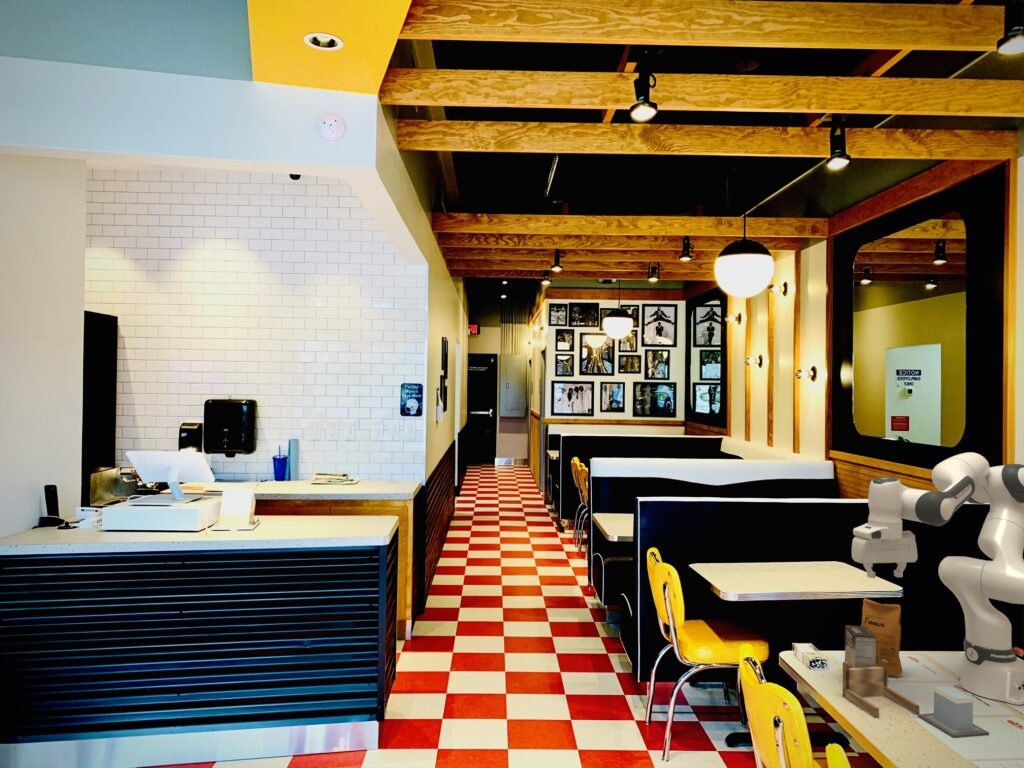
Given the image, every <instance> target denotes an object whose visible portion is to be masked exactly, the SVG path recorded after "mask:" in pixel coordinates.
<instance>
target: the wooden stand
mask: <svg viewBox="0 0 1024 768" xmlns="http://www.w3.org/2000/svg"><path fill="white" fill-rule="evenodd" d="M882 696H883V697H885V698H886V699H888V700H890V701H892V702H894V703H896V704H897V705H898V706H900V707H902V708H904V709H905V710H907V711H909V712H910V713H912V714H913V715H915V716H916V715H917V716H918V714H920V705H919V704H918V703H916V702H915V701H914V700H913V701H912V700H911V699H909V698H907V697H906V696H904V695H902V694H901V693H899V692H897V691H895V690H894V689H892V688H890V687H889V686H888V676H887V661H886V660H884V659H883V660H881V666H880V667H863V668H849V663H848V662H845V661H843V662H842V697H843V698H845V699H846V700H848V701H849V702H851V703H853V704H854V705H855V706H857V707H858V708H860V709H861V710H863V711H864V712H865V713H867V714H869V715H870V716H872V717H873V718H875V719H877V718H880V707H878V706H876V705H875V704H873V703H872V702H870V701H868V700H867V699H866V698H870V697H882Z"/></svg>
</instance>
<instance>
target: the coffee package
mask: <svg viewBox="0 0 1024 768" xmlns="http://www.w3.org/2000/svg"><path fill="white" fill-rule="evenodd" d="M901 612H902V609H901V604H894V603H893V604H889V603H880V602H879V603H878V602H876V601H873V600H871V599H868V598H863V603H862V613H861V614H862V615H861V624H860V626H862V627H867V628H868V629H869V630H870V631H871V632H872V633H873V635H874V636H875V637H876V667H880V666H881V660H883V659H884V660H886V661H887V677H894V678H898V677H900V675H901V674H902V672H903V667H902V662H901V657H900V650H901V647H900V645H901V638H902V628H901V618H902V617H901Z"/></svg>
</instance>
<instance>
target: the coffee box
mask: <svg viewBox="0 0 1024 768" xmlns="http://www.w3.org/2000/svg"><path fill="white" fill-rule="evenodd" d="M844 662H848V663H849V668H863V667H876V637H875V636H874V635H873V633H872V632H871V631H870V630H869V629H868V628H867V627H862V626H861V625H849V624H847V625H844Z"/></svg>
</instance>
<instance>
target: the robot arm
mask: <svg viewBox="0 0 1024 768" xmlns="http://www.w3.org/2000/svg"><path fill="white" fill-rule="evenodd" d="M931 482H932V483H933V485H934V486H935V488H936V489H937V490H935V491H934V490H926V489H919V488H911V487H908V486H905V485H904V484H902V483H901V481H900V479H899V478H897V477H893V476H878V477H875V478H873V479H872V480H871V481H870V483H869V487H868V488H869V489H868V498H867V499H868V500H867V502H868V504H867V505H868V509H869V513H868V517H867V521H868V522H866V523H864V524H862V525H859V526H857V527H854V528H853V529H852V532H853V533H852V534H853V535H854V538H852V540H851V541H852V543H851V558H852V560H853V561H854V562H857V563H859V564H863V565H862V566H863V567H864V569H865V571H866V577H867V578H869V579H876V572H875V571H873V566H874V565H873V564H893V563H895V564H896V565H897V567H896V569H893V576H894V577H896V578H903V577H904V575H903V572H904V571H905V569H906V567H907V563H916V562H917V560H918V559H919V558H918V549H917V548H918V547H917V543H916V535H915V534H914V533H913V532H912V531H910V530H903V519H904V520H909V521H913V522H919V523H923V524H927V525H931V526H934V527H941V526H943V525H945V524H947V523H948V522H949V521H950V520H951V518H953V515H954V513H955V512H956V511H957V510H958V509H959V508H961V507H962V506H963V505H964V504H965V503H969V504H975V505H983V504H989V507H990V508H989V512H987V515H986V518H985V520H984V522H983V524H982V528H981V530H980V533H979V536H978V539H977V545H978V547H979V549H980V550H981V552H983V554H985V555H986V556H987V557H988V558H990V559H991V560H985V559H979V558H974V557H969V556H960V555H959V556H957V555H956V556H953V555H951V556H946V557H944V558H943V559H942V560H941V561H940V563H939V566H938V568H937V569H938V576H939V579H940V581H941V582H942V583H943V584H944V586H946V587H947V588H948V589H949V590H950V591H951V592H952V593H953V594H954V596H955V597H956V598H957V600H958V602H959V603H960V606H961V609H962V612H963V614H964V623H965V624H964V625H965V626H964V627H965V637H964V640H963V651H964V653H963V657H962V665H961V673H959V675H958V679H960V680H959V683H958V684H959V686H960V687H961V688H962V689H963V690H965V691H967V692H970V693H971V694H974V695H977V696H980V697H983V698H986V699H990V700H995V701H1001V702H1005V703H1009V704H1012V705H1016V706H1021V705H1024V664H1023V663H1021V662H1020V661H1019V660H1018V658H1017V656H1018V657H1019V656H1020V657H1023V656H1024V650H1023V649H1022V648H1019V647H1017V646H1015V647H1013V646H1012V624H1011V621H1010V620H1009V618H1008V617H1007V616H1006V615H1005V614H1004V613H1003V612H1001V611H999V610H998V609H997V608H996V607H994V606H993V605H992V603H991V602H990V599H992V600H997V601H1001V602H1005V603H1010V604H1015V605H1016V604H1017V605H1024V558H1023V556H1024V555H1023V553H1024V464H1021V463H1008V464H1005V465H996V466H991V467H990V464H989V461H988V460H987V459H986V458H985V456H982V455H981V454H979V453H976V452H972V451H971V452H963V453H959V454H956V455H953V456H950V457H948V458H946V459H944V460H943V461H941V462H939V463H938V464H936V465H935V466H934V467H933V468H932V471H931ZM1016 655H1017V656H1016Z"/></svg>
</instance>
